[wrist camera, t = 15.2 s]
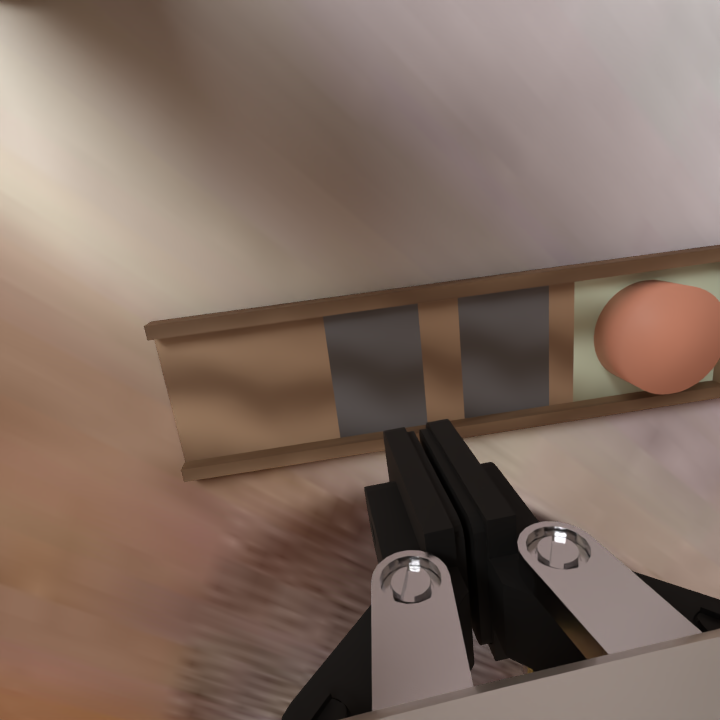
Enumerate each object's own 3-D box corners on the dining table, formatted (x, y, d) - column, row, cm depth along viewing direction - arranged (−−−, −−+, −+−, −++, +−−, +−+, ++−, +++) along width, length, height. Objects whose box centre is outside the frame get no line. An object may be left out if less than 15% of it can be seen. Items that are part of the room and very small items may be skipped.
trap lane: (150, 321, 34) (143, 326, 32) (736, 242, 36) (754, 243, 35) (188, 471, 37) (184, 482, 36) (720, 388, 40) (735, 395, 39)
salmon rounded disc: (589, 294, 36) (617, 302, 33) (689, 268, 36) (727, 273, 33) (598, 390, 39) (625, 406, 35) (692, 364, 39) (728, 378, 35)
